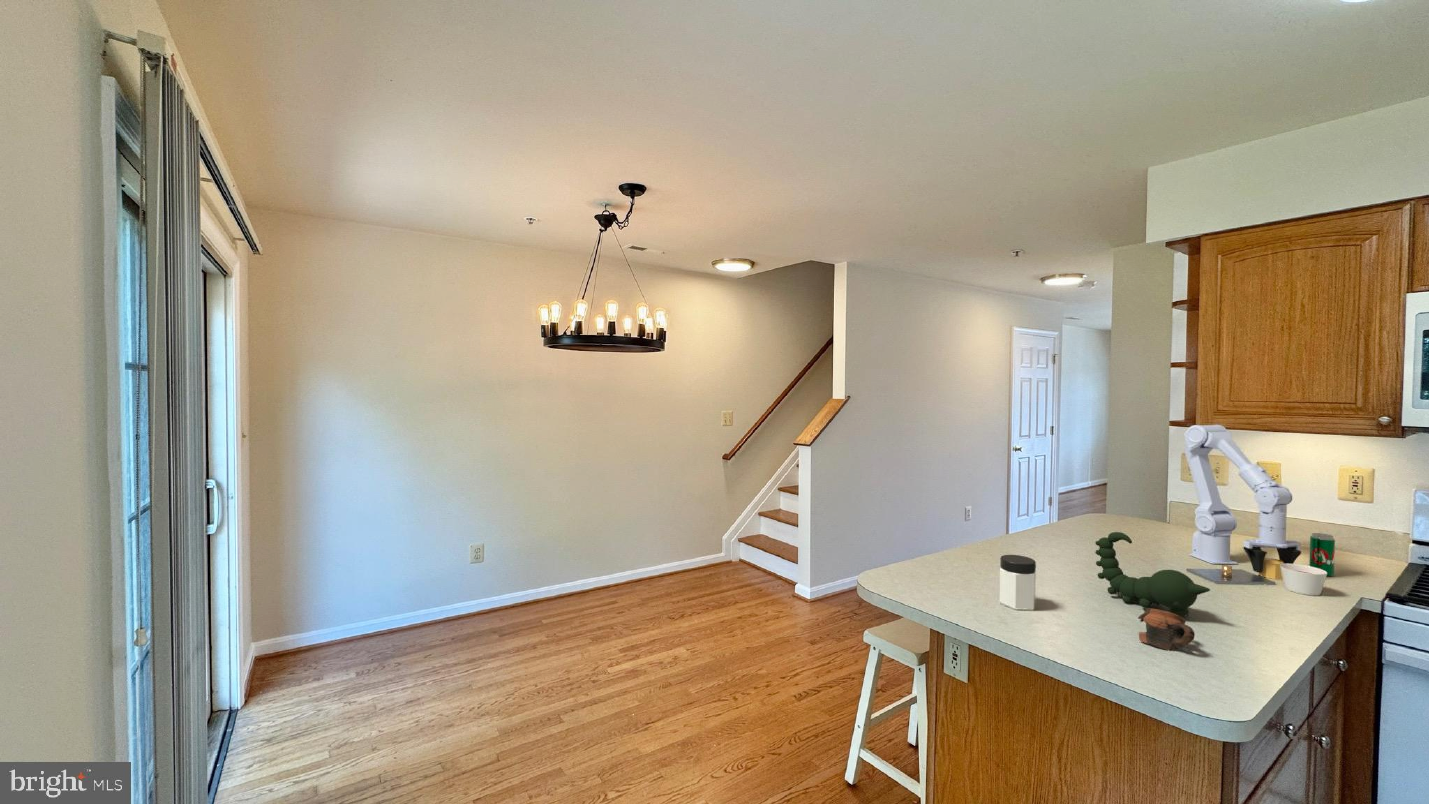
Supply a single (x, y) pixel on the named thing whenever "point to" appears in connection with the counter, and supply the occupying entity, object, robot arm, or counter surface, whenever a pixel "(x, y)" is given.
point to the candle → (1303, 578)
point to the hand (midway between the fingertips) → (1271, 572)
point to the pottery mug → (1165, 629)
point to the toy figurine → (1146, 581)
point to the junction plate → (1235, 577)
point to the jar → (1017, 581)
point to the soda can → (1322, 552)
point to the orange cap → (1272, 568)
